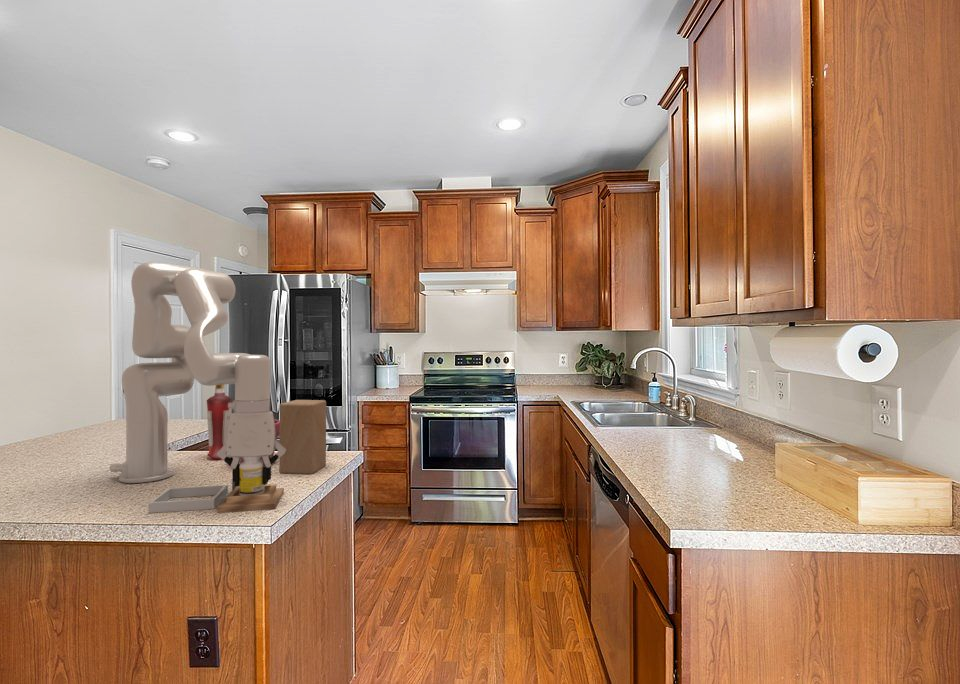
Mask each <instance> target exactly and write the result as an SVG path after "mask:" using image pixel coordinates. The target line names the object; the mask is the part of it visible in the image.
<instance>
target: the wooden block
mask: <svg viewBox="0 0 960 684" xmlns="http://www.w3.org/2000/svg"><path fill="white" fill-rule="evenodd" d="M279 421H280V434H279V440H278V441H279V442H280V443H281V444H282V445H283V447H284V448H285V449H286V452H285V453H284V454H283V455H282V456H281V457H280V458H278V459H279V462H278V463H279V464H278V465H279V466H278V467H279V469H278V470H279V474H298V475H299V474H300V475H312V474H314V473H316V472H317V471H319V470H321V469H322V468H324V467H326V466H327V401H326V400H325V399H320V400H319V399H313V400H312V399H295V400H290V401H286V402H282V403H280V404H279Z"/></svg>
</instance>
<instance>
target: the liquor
mask: <svg viewBox="0 0 960 684" xmlns="http://www.w3.org/2000/svg"><path fill="white" fill-rule="evenodd" d="M214 386H215V387H214V393H213V396H210V397H209V398H208V399H206V414H207V415H206V416H207V417H206V419H207V429H208V430H207V433H208V435H207V437H208V453H207V457H208V458H210V459H211V460H213V461H215V460H217V461H219V460H222V459H221V458H220V457H219V456H217V453H218V451H219V450H220V449H221V448H222V447H223V446H224V445H225V444H226V443H227V436H228V427H229V420H230V416H231V414H232V413H233V409H232V408H228V403H232V402H233V398H232V397H230V396H229V395H226V392H225V385H214ZM226 453H227V451H226Z"/></svg>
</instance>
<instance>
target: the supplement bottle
mask: <svg viewBox="0 0 960 684" xmlns="http://www.w3.org/2000/svg"><path fill="white" fill-rule="evenodd" d="M242 458H243V460H244V461H243V462H242V463H239V464H240V466H239V493H240V495H241V496H246V495H261V494H262V493H264V489H265V485H264V484H263V468H264V462H263V461H262V460H260V458H261V457H242Z"/></svg>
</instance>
